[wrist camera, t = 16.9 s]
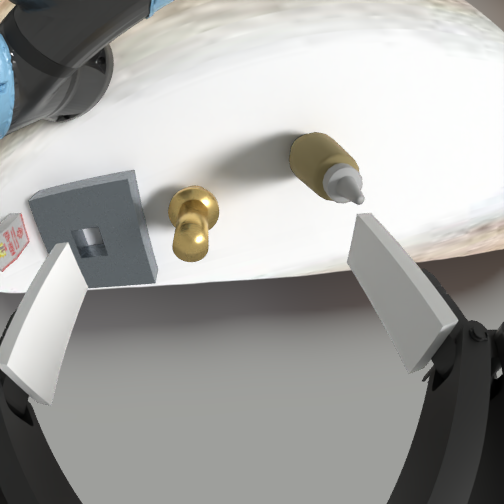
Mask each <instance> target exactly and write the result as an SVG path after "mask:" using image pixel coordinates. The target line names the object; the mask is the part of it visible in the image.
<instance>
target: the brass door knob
mask: <svg viewBox="0 0 504 504" xmlns="http://www.w3.org/2000/svg"><path fill="white" fill-rule="evenodd" d="M168 214H169V219H170V221H171V223H172V224H173V226H174V227H175V228H176V229H175V234H174V240H173V246H172V247H173V252H174V254H175V255H176V256H177V257H178V258H179V259H181V260H183V261H186V262H196V261H199V260H201V259H202V258H204V257H205V256H206V254H207V252H208V230H210V229H211V228H212V227H213V226H214V225H215V224H216V222H217V220H218V217H219V206H218V202H217V200H216V198H215V197H214V195H213V194H212V193H211V192H209V191H208V190H206V189H204V188H203V187H200V186H190V187H187V188H184V189H182V190H180V191H178V192H177V193H176V194H175V195H174V196H173V198H172V199H171V202H170V205H169V209H168Z"/></svg>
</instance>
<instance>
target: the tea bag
mask: <svg viewBox="0 0 504 504" xmlns="http://www.w3.org/2000/svg"><path fill="white" fill-rule="evenodd" d="M28 243H29V239H28V236H27V232H26V229H25V225H24V222H23V218H22V214H21V213H13V214H9V215H8V216H7V217H6V218H5V219H4V220H3V221H2V222H1V223H0V271H2V272H3V271H4V270H5V269H6V268H7V267H8V266H9V265H10V264H11V263H13V262H14V261H15V260H16V259H17V258H18V257H19V255H20V254H21V253H22V251H23V250H24V248H25V247H26V246H27V244H28Z"/></svg>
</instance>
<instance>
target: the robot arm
mask: <svg viewBox="0 0 504 504" xmlns="http://www.w3.org/2000/svg"><path fill="white" fill-rule="evenodd" d="M9 1H11V2H12V3H14V4H15V5H16V6H15V7H14V8H13V9H12V10H11V11H10V12H9V13H8V15H7V16H6V17H5V18H4V19H3V20H2V22H1V23H0V139H2V138H3V137H4V136H6V135H8V134H10V133H12V132H14V131H16V130H18V129H20V128H22V127H25V126H27V125H29V124H31V123H34V122H36V121H38V120H41V119H44V120H49V121H53V122H63V121H68V120H71V119H74V118H76V117H79V116H81V115H83V114H85V113H86V112H88V111H89V110H90V109H92V108H93V107H94V106H95V105H96V104H97V103H98V102H99V100H100V99H101V98H102V96H103V95H104V93H105V92H106V90H107V88H108V86H109V83H110V80H111V77H112V73H113V54H112V50H111V48H110V45H109V43H110V42H112V41H113V40H114V39H116V38H117V37H118V36H120V35H121V34H122V33H124V32H125V31H127V30H128V29H130V28H131V27H132V26H134V25H135V24H137V23H138V22H140V21H141V20H143V19H148V18H150V17H151V16H152V15H153V14H154V12H156V11H157V10H159V9H161V8H162V7H164V6H165V5H167V4H169V3H170V2H172V1H174V0H9ZM347 263H348V265H349V266H350V268H351V270H352V271H353V273H354V274H355V276H356V278H357V280H358V281H359V283H360V285H361V286H362V288H363V290H364V291H365V293H366V295H367V297H368V298H369V300H370V302H371V304H372V305H373V307H374V309H375V311H376V313H377V314H378V316H379V318H380V319H381V322H382V323H383V325H384V327H385V329H386V331H387V333H388V334H389V336H390V338H391V340H392V342H393V344H394V346H395V348H396V350H397V352H398V354H399V356H400V358H401V360H402V362H403V364H404V366H405V368H406V370H407V372H408V374H410V373H413V372H415V371H418V370H420V369H423V368H424V367H425V366H426V365H427V364H428V362H429V361H430V360H432V362H433V363H434V365H433V367H432V368H431V369H430V370H429V371H428V373H427V374H426V375H425V376H424V378H423V380H422V381H425V380H426V379H427V378H428V377H429V376H430V377H429V381H428V387H427V391H426V395H425V400H424V404H423V408H422V412H421V415H420V419H419V422H418V426H417V429H416V432H415V435H414V438H413V441H412V444H411V448H410V450H409V453H408V456H407V458H406V461H405V464H404V467H403V469H402V471H401V474H400V476H399V478H398V481H397V483H396V485H395V487H394V490H393V492H392V494H391V496H390V499H389V500H388V502H387V504H504V322H503V323H502V324H501V326H500V327H499V329H498V330H487V329H486V328H485V327H484V326H483V325H482V324H481V323H479V322H477V321H473V320H471V321H468V320H467V319H466V318H465V317H464V315H463V313H462V312H461V311H460V309H459V308H458V306H457V305H456V304H455V302H454V301H453V300H452V299H451V297H450V296H449V294H447V292H446V290H445V289H444V288H443V287H441V284H440V283H439V281H438V280H437V279H436V278H435V276H434V275H432V274H431V273H430V272H428V271H427V270H426V269H420V268H419V267H418V266H417V264H416V263H415V262H414V261H413V259H412V258H411V257H410V256H409V255H408V254H407V252H406V251H405V250H404V249H403V248H402V247H401V245H400V244H399V243H398V242H397V241H396V240H395V239H394V237H393V236H392V235H391V234H390V233H389V232H388V231H387V230H386V229H385V227H384V226H383V225H382V224H381V223H380V222H379V221H378V220H377V219H376V218H375V217H374V216H373V215H372V214H371V213H364V214H357V217H356V222H355V227H354V232H353V237H352V242H351V246H350V251H349V255H348V260H347ZM87 289H88V286H87V284H86V282H85V279H84V277H83V275H82V273H81V271H80V269H79V266H78V264H77V262H76V260H75V257H74V255H73V253H72V250H71V248H70V245H69V243H68V242H65V243H58V244H56V245H55V246H54V248H53V249H52V251H51V252H50V254H49V255H48V257H47V258H46V260H45V261H44V263H43V265H42V266H41V268H40V269H39V271H38V273H37V274H36V276H35V278H34V280H33V281H32V283H31V285H30V287H29V288H28V290H27V292H26V294H25V296H24V297H23V300H22V301H21V303H20V305H19V307H18V308H17V310H16V311H15V312H14V313H13V314H12V316H11V317H10V319H9V321H8V323H7V325H6V329H5V330H4V332H3V336H2V337H1V338H0V504H82V502H81V501H80V499H79V498H78V496H77V495H76V493H75V492H74V490H73V489H72V487H71V485H70V484H69V482H68V481H67V479H66V477H65V475H64V474H63V472H62V470H61V468H60V466H59V465H58V463H57V461H56V459H55V457H54V455H53V453H52V451H51V449H50V447H49V445H48V443H47V441H46V439H45V436H44V434H43V432H42V430H41V427H40V425H39V423H38V420H37V418H36V415H35V413H34V410H33V407H32V405H31V404H30V403H29V402H28V397H29V396H30V397H31V398H33V399H34V400H35V401H36V402H37V403H41V404H45V405H50V406H51V405H52V400H53V395H54V391H55V387H56V383H57V379H58V375H59V371H60V367H61V364H62V361H63V357H64V354H65V351H66V347H67V344H68V341H69V338H70V335H71V332H72V329H73V326H74V323H75V320H76V318H77V314H78V312H79V309H80V307H81V304H82V301H83V299H84V296H85V294H86V291H87ZM501 367H502V372H503V374H502V375H501V376H500V377H499V378H497V376H496V372H497V371H498V370H499V369H500V368H501Z"/></svg>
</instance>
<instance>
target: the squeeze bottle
mask: <svg viewBox="0 0 504 504" xmlns="http://www.w3.org/2000/svg"><path fill="white" fill-rule="evenodd" d="M289 162H290V167H291V170H292V171H293V173H294V174H295V175H296V177H297V178H299V179H300V180H301V181H302V182H303V183H305V184H306V185H307V186H308V187H309V188H310V189H312V190H313V191H314V192H315V193H316V194H318V195H319V196H320V197H322V198H324V199H326V200H331V201H335V202H337V203H347V202H350V201H352V202H354V203H356V204H358V205H360V204H362V203H363V202H364V196H363V194H362V192H361V188H362V185H363V184H362V177H361V175H360V173H359V167H358V165H357V163H356V162H355V160H354V159H353V158H352V157H351V156H350V155H349V154H348V153H347V152H346V151H345V150H344V149H343V148H342V147H341V146H340V145H339V144H338V143H337V142H336V141H335V140H334V139H332V138H331V137H329V136H328V135H326V134H323V133H317V132H314V133H309V134H305V135H302V136H300V137H299V138H298V139H296V140H295V141H294V143H293V144H292V146H291V151H290V157H289Z"/></svg>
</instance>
